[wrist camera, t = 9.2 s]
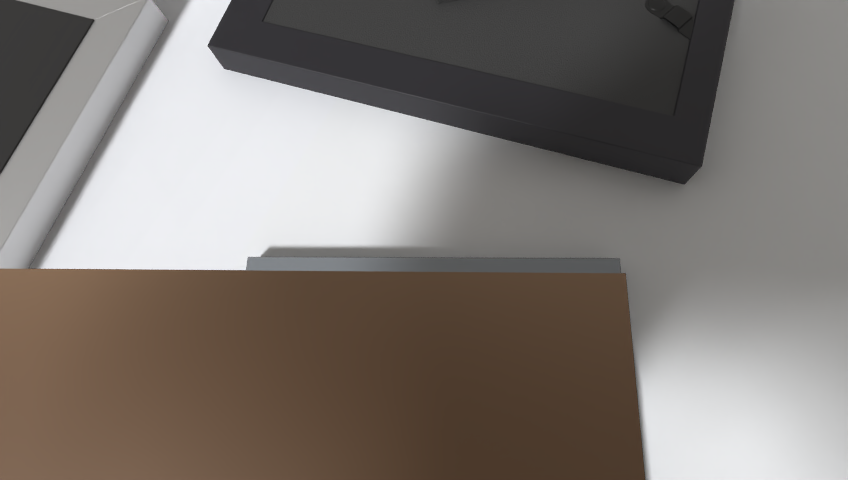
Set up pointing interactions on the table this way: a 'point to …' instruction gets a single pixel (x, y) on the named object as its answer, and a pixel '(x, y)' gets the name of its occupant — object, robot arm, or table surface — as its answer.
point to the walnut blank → (316, 376)
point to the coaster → (436, 264)
